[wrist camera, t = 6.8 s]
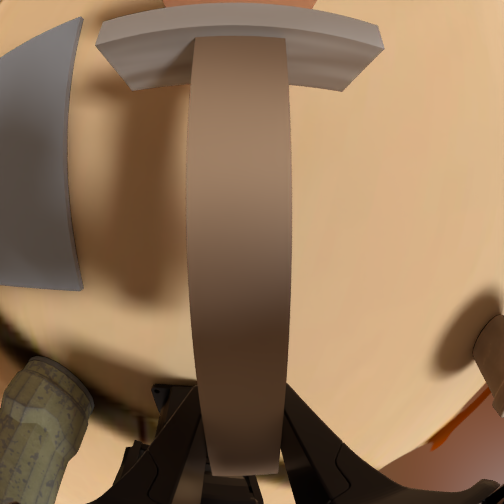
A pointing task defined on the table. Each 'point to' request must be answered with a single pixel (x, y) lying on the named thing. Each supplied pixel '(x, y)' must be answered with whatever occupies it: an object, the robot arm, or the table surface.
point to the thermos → (40, 430)
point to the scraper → (239, 190)
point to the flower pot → (492, 359)
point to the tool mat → (37, 162)
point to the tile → (293, 0)
